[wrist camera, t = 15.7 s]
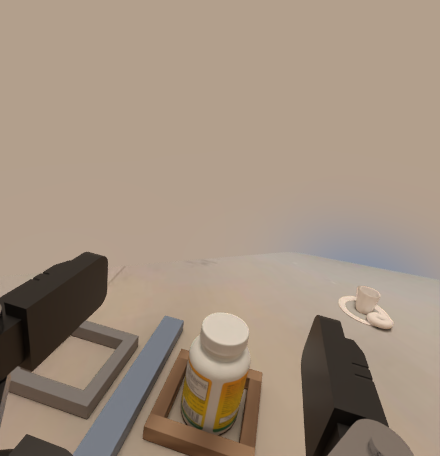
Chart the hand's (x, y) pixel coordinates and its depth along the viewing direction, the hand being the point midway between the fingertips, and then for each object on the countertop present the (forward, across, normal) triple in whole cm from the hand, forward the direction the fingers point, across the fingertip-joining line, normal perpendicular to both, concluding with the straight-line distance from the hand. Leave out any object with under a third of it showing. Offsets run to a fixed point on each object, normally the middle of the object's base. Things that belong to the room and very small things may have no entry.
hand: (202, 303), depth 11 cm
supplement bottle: (+10, -1, +19) cm, 22 cm away
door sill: (+10, +7, +19) cm, 23 cm away
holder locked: (+10, 0, +19) cm, 22 cm away
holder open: (+10, +14, +19) cm, 26 cm away
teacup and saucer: (+33, -19, +20) cm, 43 cm away
